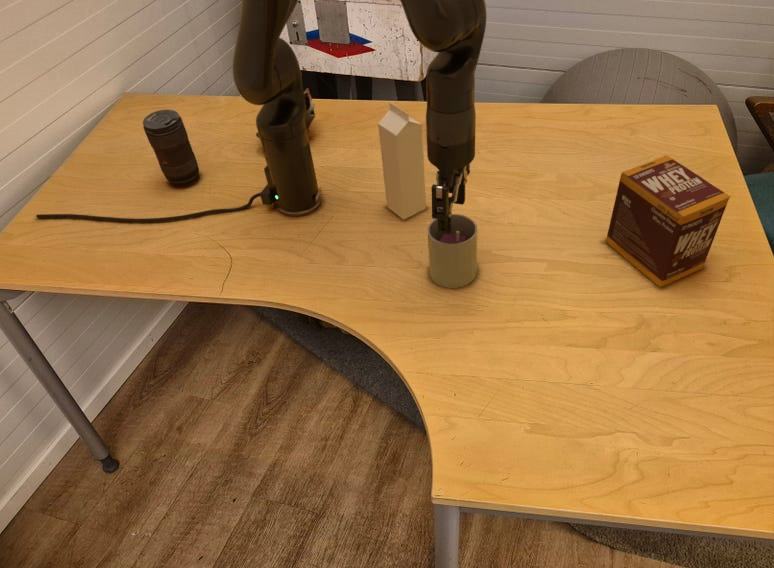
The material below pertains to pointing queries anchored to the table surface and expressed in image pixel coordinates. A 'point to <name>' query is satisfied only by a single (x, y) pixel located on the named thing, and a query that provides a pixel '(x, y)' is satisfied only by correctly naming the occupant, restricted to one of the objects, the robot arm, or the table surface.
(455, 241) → the juice box
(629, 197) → the supplement box
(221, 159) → the table surface
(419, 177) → the milk
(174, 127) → the camera lens
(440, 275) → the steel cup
